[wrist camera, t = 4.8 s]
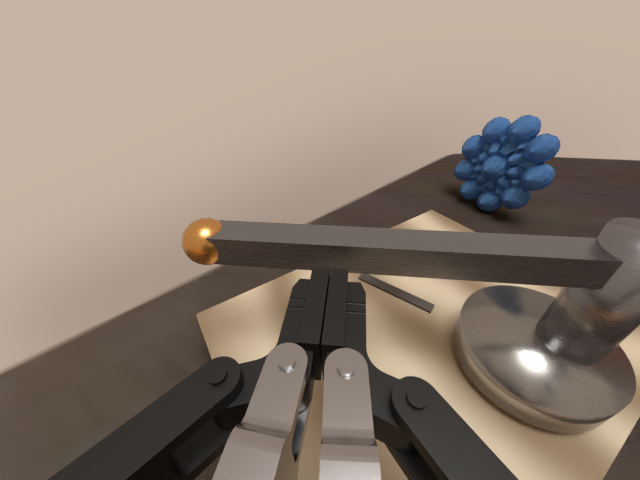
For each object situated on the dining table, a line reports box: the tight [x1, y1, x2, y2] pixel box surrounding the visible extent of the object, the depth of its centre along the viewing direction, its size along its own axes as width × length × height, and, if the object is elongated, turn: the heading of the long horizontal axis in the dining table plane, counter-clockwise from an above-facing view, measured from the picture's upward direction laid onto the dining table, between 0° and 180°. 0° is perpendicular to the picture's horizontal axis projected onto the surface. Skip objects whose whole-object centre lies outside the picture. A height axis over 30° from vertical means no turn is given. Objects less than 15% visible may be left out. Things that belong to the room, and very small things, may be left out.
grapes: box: [454, 115, 560, 211], centre depth 34 cm, size 12×7×12 cm, turn 26°
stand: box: [196, 210, 640, 480], centre depth 20 cm, size 26×20×3 cm
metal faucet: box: [182, 218, 640, 434], centre depth 15 cm, size 23×8×9 cm, turn 83°
